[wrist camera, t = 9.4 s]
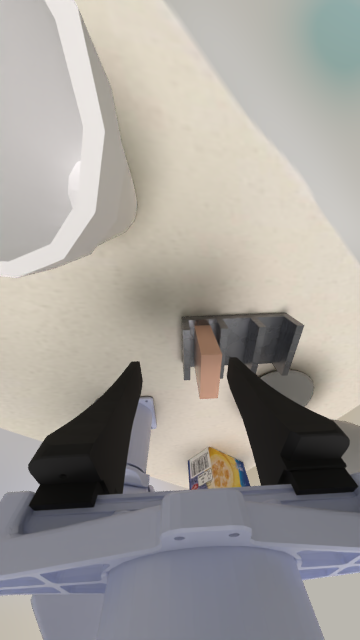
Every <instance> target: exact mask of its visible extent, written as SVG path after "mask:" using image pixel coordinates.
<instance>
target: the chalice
mask: <svg viewBox="0 0 360 640" xmlns="http://www.w3.org/2000/svg"><path fill="white" fill-rule="evenodd" d="M260 378H261V379H262V380H263V381H264V382H266V383H267V384H268V385H270V386H271V387H272V388H274V389H275V390H277V391H278V392H280V393H281V394H283V395H284V396H286V397H288V398H289V399H291V400H293V401H294V402H296V403H298V404H300V405H301V406H303V407H304V406H305V405H307V403H308V402H309V401H310V399H311V397H312V395H313V391H314V385H313V381H312V380H311V378H310V377H309V376H307V375H306V374H305V373H302V372H299V371H295V370H289V372H288V375H286V376H281V374H280V373H279V372H278V371H275V372H271V373H269V374H266V375H263V376H262V377H260ZM330 420H331V419H330ZM332 421H334V422H335V423H336V424H337V425H338V426H339V427H340V428H341V430H342V431H343V432H344V433H345V434H346V435H347V436H348V438H349V439H350V445H349V447H348V449H347V450H346V452H345V453H344V454H343V456H342V457H341V458H342V459H343V461H344V462H345V463H346V465H347V467H346V468H345V469H346V470H347V472H348V473H349V474H350V475H351V474H353V473H357V472H360V426H358V425H355V424H352V423H349V422H346V421H339V420H332Z"/></svg>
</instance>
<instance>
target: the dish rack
mask: <svg viewBox="0 0 360 640" xmlns="http://www.w3.org/2000/svg"><path fill="white" fill-rule="evenodd" d="M198 325H210V326H211V329H212V331H213V333H214V336H215V338H216V340H217V343H218V345H219V348H220V350H221V352H222V362H221V371H220V379H221V378H223V373H224V365H228V364H229V357H237V358H238V359H239V360H241V361H242V362H243V363H244V364H245V365H246V366H247V367H248V368H249V369H250V370H251V371H252V372H254V373H255V374H256V371H257V367H258V364H263V363H272V364H273V366H274V367H275V368H276V369H277V371H278V372H279V373H280V374H281V376H286V375H288V372H289V369H290V366H291V363H292V360H293V357H294V354H295V351H296V348H297V345H298V342H299V339H300V336H301V333H302V330H303V327H304V325H303V324H301V323H300V322H298V321H297V320H295V319H294V318H292V317H291V316H289V315H288V314H286V313H271V314H246V315H221V316H196V317H182V350H183V372H184V380H190V367H195V366H194V326H198Z"/></svg>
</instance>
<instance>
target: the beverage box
mask: <svg viewBox="0 0 360 640" xmlns="http://www.w3.org/2000/svg"><path fill="white" fill-rule="evenodd" d="M188 470H189V486H190V490H196V489H213V488H231V487H248V486H250V484H249V480H248V477H247V474H246V471H245V467H244V464H243V462H241V461H239V460H237V459H235V458H232V457H230V456H228V455H226V454H224V453H222V452H220V451H218V450H216V449H214V448H211V447H208V448H206V449H205V450H203V451H202V452H200V453H199V454H197V455H196V456H194V457H193V458H191V459H190V460H188Z"/></svg>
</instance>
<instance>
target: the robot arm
mask: <svg viewBox="0 0 360 640" xmlns="http://www.w3.org/2000/svg"><path fill="white" fill-rule="evenodd" d="M227 379H228V383H229V386H230V389H231V392H232V394H233V397H234V399H235V402H236V404H237V407H238V409H239V411H240V414H241V416H242V419H243V422H244V425H245V428H246V431H247V435H248V438H249V441H250V445H251V448H252V452H253V456H254V459H255V463H256V467H257V471H258V475H259V479H260V483H261V486H248V487H231V488H213V489H196V490H179V491H163V492H155V491H154V488H153V486H151V485H149V476H150V475H148V474H146V467H147V459H148V450H149V442H150V434H151V429H155V428H156V427H157V424H156V417H155V410H154V403H153V398H151V397H142V398H140V395H141V389H142V382H143V380H142V374H141V368H140V362H139V361H137V362H131V363H130V364H129V366H128V367H127V368H126V369H125V371H124V372H123V373H122V374H121V376H120V377H119V378H118V379H117V380H116V382H115V383H114V384H113V385H112V386H111V387H110V388H109V389H108V390H107V391H106V392H105V393H104V394H103V395H102V396H101V397H100V398H99V399H98V400H96V401H95V403H94V404H92V405H91V406H90V407H89V408H87V409H86V410H85V411H84V412H82V413H81V414H80V415H78V416H77V417H76V418H74V419H73V420H71V421H70V422H69V423H67V424H66V425H64V426H62V427H61V428H59V429H58V430H56V431H55V432H53V433H51V434H50V435H48V436H47V437H46V438H45V440H44V441H43V443H42V444H41V446H40V448H39V449H38V450H37V452H36V454H35V455H34V457H33V458H32V460H31V461H30V463H29V465H28V466H29V467H28V469H29V471H30V473H31V475H32V476H33V477H34V478H35V479H36V481H37V482H38V483H39V484H40V486H39V488H38V489H37V491H36V493H34V492H31V491H24V492H23V491H21V492H8V493H6V494H5V495H4V496H3V498H2V500H1V501H0V596H1V595H27V594H28V595H29V594H32V597H31V605H32V609H33V611H34V614H35V617H36V620H37V623H38V626H39V629H40V632H41V634H42V637H43V640H324V637H323V634H322V631H321V629H320V626H319V624H318V621H317V618H316V616H315V613H314V610H313V608H312V605H311V602H310V600H309V597H308V594H307V592H306V589H305V586H304V584H303V581H302V580H308V579H315V578H323V577H330V576H338V575H344V574H353V573H360V472H357V473H353V474H351V475H350V474H349V473H348V472H347V470H346V469H345V468H346V467H347V465H346V463H345V462H344V461H343V459H342V458H341V457H342V456H343V454H344V453H345V452H346V450H347V449H348V447H349V445H350V439H349V438H348V436H347V435H346V434H345V433H344V432H343V431H342V430H341V428H340V427H339V426H338V425H337V424H336V423H335V422H334V421H332V420H330V419H328V418H326V417H324V416H322V415H319V414H317V413H315V412H313V411H311V410H309V409H307V408H305V407H303V406H301V405H300V404H298V403H296V402H294V401H293V400H291V399H289V398H288V397H286V396H284V395H283V394H281V393H280V392H278V391H277V390H275V389H274V388H272V387H271V386H270V385H268V384H267V383H266V382H264V381H263V380H262V379H261V378H259V377H258V376H257V375H256V374H255V373H254V372H252V371H251V370H250V369H249V368H248V367H247V366H246V365H245V364H244V363H243V362H242V361H241V360H239V359H238V358H237V357H229V364H228V372H227Z"/></svg>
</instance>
